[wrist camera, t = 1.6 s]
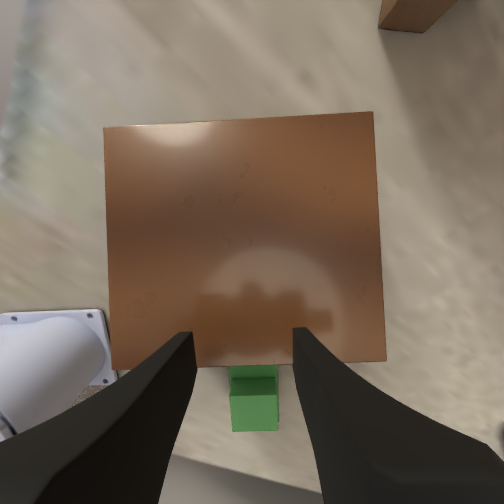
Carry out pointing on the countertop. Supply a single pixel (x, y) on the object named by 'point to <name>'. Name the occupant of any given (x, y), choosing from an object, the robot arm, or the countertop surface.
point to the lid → (244, 238)
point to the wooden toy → (412, 14)
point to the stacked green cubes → (254, 398)
